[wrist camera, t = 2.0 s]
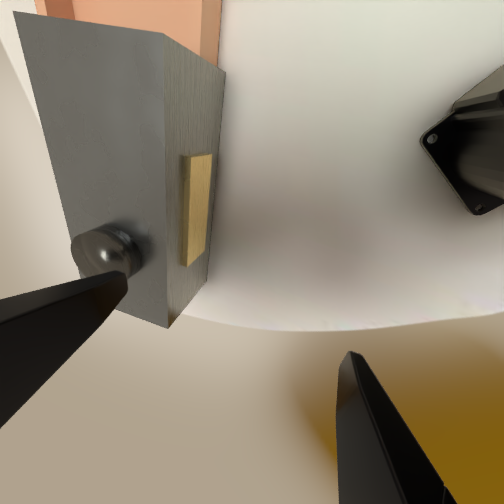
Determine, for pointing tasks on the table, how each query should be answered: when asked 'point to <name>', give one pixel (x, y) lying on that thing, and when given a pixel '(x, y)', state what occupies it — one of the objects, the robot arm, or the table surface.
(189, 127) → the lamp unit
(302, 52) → the table surface
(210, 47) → the dish
